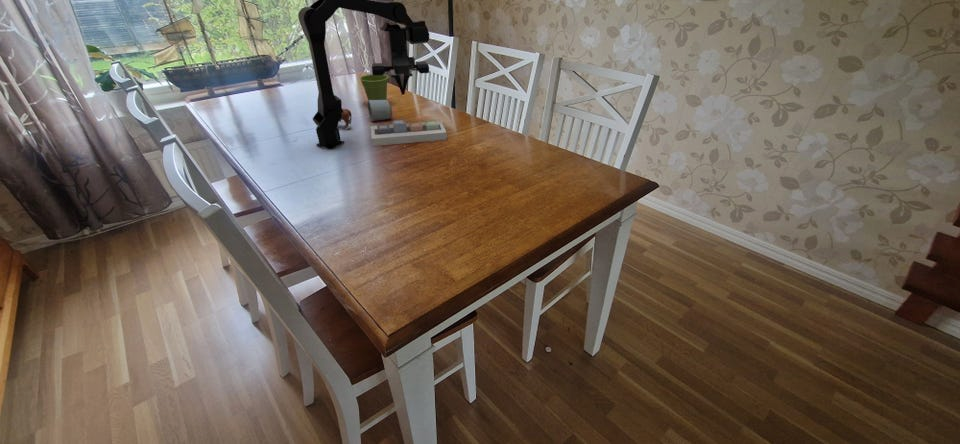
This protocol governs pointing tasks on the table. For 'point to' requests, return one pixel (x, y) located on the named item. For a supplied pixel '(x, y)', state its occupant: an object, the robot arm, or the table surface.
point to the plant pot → (375, 86)
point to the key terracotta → (415, 127)
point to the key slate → (399, 126)
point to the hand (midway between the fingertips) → (403, 94)
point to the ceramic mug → (379, 109)
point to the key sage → (431, 125)
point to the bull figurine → (346, 118)
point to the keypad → (408, 135)
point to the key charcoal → (383, 129)
